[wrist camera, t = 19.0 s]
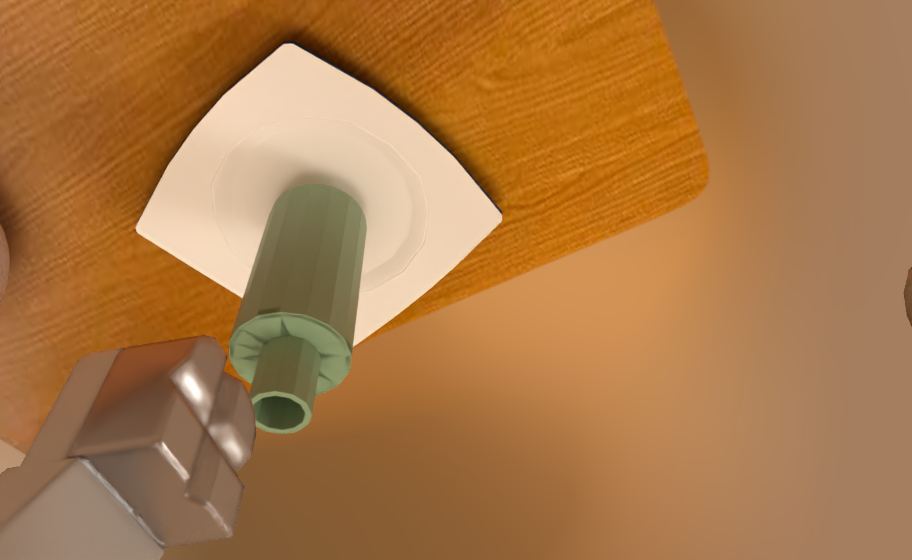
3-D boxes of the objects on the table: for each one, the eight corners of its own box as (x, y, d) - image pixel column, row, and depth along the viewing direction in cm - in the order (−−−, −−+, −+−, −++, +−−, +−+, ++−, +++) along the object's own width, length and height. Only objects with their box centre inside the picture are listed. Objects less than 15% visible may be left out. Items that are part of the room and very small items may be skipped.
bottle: (350, 174, 46) (319, 358, 33) (377, 252, 50) (360, 443, 37) (255, 193, 47) (188, 380, 34) (290, 268, 51) (242, 461, 38)
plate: (126, 209, 51) (114, 231, 49) (290, 1, 42) (283, 16, 40) (347, 343, 60) (344, 366, 58) (520, 196, 51) (524, 217, 49)
